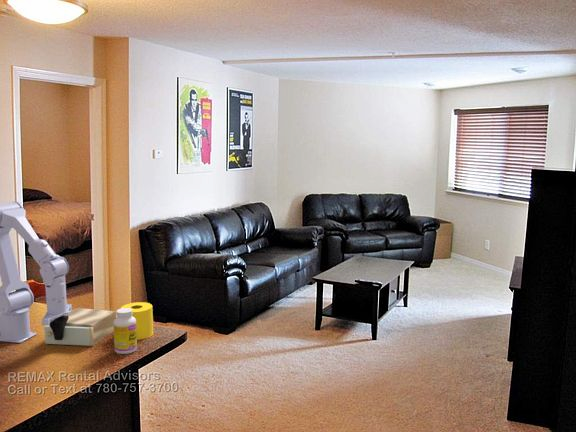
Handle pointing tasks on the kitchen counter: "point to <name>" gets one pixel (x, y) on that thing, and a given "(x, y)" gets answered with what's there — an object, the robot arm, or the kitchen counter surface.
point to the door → (71, 336)
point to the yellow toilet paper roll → (142, 318)
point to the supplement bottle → (125, 331)
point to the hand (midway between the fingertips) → (58, 339)
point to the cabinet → (93, 321)
